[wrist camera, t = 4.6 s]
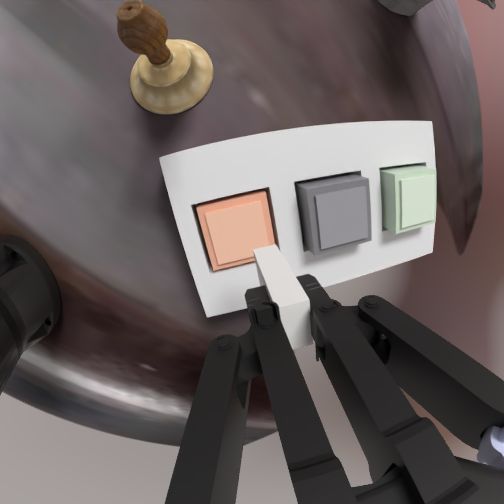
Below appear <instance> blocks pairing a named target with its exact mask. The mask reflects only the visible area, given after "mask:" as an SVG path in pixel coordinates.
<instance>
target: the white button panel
mask: <svg viewBox="0 0 504 504" xmlns="http://www.w3.org/2000/svg"><path fill="white" fill-rule="evenodd" d="M159 159H160V164H161V168H162V172H163V175H164V179H165V183H166V187H167V191H168V194H169V198H170V202H171V205H172V209H173V212H174V216H175V219H176V223H177V226H178V230H179V233H180V236H181V240H182V243H183V246H184V250H185V253H186V256H187V259H188V262H189V265H190V269H191V272H192V275H193V278H194V281H195V284H196V287H197V290H198V293H199V296H200V298H201V301H202V304H203V307H204V310H205V313H206V316H207V317H211V316H216V315H220V314H224V313H229V312H233V311H237V310H241V309H245V308H247V304H246V300H245V296H244V295H245V293H246V290H247V289H251V288H255V287H259V286H260V283H259V278H258V273H257V268H256V263H255V261H252V262H247V263H243V264H239V265H235V266H231V267H227V268H223V269H219V270H214V271H213V267H212V264H211V260H210V257H209V253H208V249H207V246H206V242H205V239H204V235H203V231H202V228H201V224H200V220H199V216H198V212H197V209H196V208H197V203H201V202H205V201H209V200H213V199H217V198H221V197H225V196H230V195H234V194H238V193H243V192H247V191H252V190H256V189H261V188H262V189H263V190H264V191H265V192H266V196H267V201H268V207H269V212H270V218H271V224H272V229H273V235H274V241H275V244H276V245H277V247H278V249H279V250H280V252H281V254H282V255H283V257H284V258H285V260H286V262H287V263H288V265H289V267H290V268H291V270H292V271H293V273H294V275H295V276H296V277H297V276H301V275H305V274H310V275H312V276H314V277H315V278H316V279H317V280H318V282H319V283H320V285H321V286H322V287H323V288H324V287H327V286H331V285H334V284H338V283H341V282H344V281H347V280H351V279H354V278H357V277H360V276H363V275H367V274H370V273H373V272H376V271H379V270H382V269H385V268H388V267H391V266H394V265H397V264H400V263H403V262H406V261H409V260H412V259H415V258H417V257H420V256H423V255H426V254H429V253H432V251H433V250H432V249H433V240H434V228H435V223H433V224H430V225H426V226H423V227H419V228H416V229H412V230H409V231H405V232H401V233H398V234H395V233H393V232H392V231H390V230H388V229H386V228H385V227H383V226H382V205H381V185H380V171H379V170H380V169H387V168H395V167H403V166H411V165H422V166H426V167H430V168H434V169H435V150H434V137H433V127H432V121H368V122H351V123H338V124H327V125H317V126H308V127H300V128H293V129H286V130H279V131H273V132H267V133H261V134H255V135H250V136H244V137H239V138H234V139H229V140H225V141H220V142H216V143H211V144H207V145H203V146H199V147H195V148H191V149H187V150H183V151H179V152H176V153H172V154H169V155H165V156H162V157H159ZM347 174H356V175H359V176H363V177H366V178H369V187H370V203H371V229H372V241H369V242H365V243H361V244H358V245H354V246H350V247H346V248H343V249H339V250H335V251H331V252H327V253H324V254H320V255H316V256H314V255H313V254H312V252H311V251H310V250H309V249H308V248H307V247H306V246H305V244H304V242H303V234H302V226H301V219H300V212H299V205H298V198H297V191H296V183H301V182H306V181H312V180H317V179H323V178H329V177H335V176H341V175H347Z"/></svg>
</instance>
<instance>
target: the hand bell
mask: <svg viewBox="0 0 504 504" xmlns="http://www.w3.org/2000/svg"><path fill="white" fill-rule="evenodd" d="M116 15H117V18H118V23H117V31H118V35H119V38H120V39H121V41H122V42H123V44H124V45H125V46H126V47H127V48H129V49H130V50H131V51H133V52H135V53H138V54H141V56H140V57H139V58H138V60H137V61H136V63H135V64H134V67H133V69H132V72H131V76H130V87H131V91H132V94H133V96H134V98H135V100H136V101H137V102H138V103H139V104H140V105H141V106H142V107H143V108H145V109H146V110H148V111H150V112H153V113H157V114H175V113H179V112H183V111H185V110H187V109H189V108H191V107H193V106H194V105H196V104H197V103H198V102H199V101H200V100H201V99H202V98H203V97H204V96H205V95H206V93H207V92H208V90H209V88H210V86H211V83H212V80H213V65H212V62H211V59H210V57H209V55H208V54H207V53H206V51H205V50H204V49H203V48H201V47H200V46H198V45H197V44H195V43H193V42H190V41H186V40H167V36H168V29H167V24H166V21H165V19H164V17H163V16H162V14H161V13H160V12H159V11H158V10H156V9H155V8H153V7H151V6H149V5H146V4H144V3H143V2H142V1H140V0H127V1H125V2H124V3H123V4H121V5H120V6H119V8H118V10H117V13H116Z"/></svg>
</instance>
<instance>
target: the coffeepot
mask: <svg viewBox="0 0 504 504" xmlns="http://www.w3.org/2000/svg"><path fill="white" fill-rule="evenodd" d="M377 1H378V2H380V3H381V4H382V5H383V6H385V7H386V8H388V9H389V10H390V11H393V12H395V13H397V14H401V15H406V16H409V17H410V16H411V15H413V14H414V13H415V12H417V11H418V10H419V9H421V8H422V7H424V6H425V5H426V4H428V3H429V2H431V1H432V0H377ZM478 1H481V2H482V3H484V4H487V5H488V6H489V7H490V8H491V9H495V7H496V4H495V2H494V1H495V0H478Z"/></svg>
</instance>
